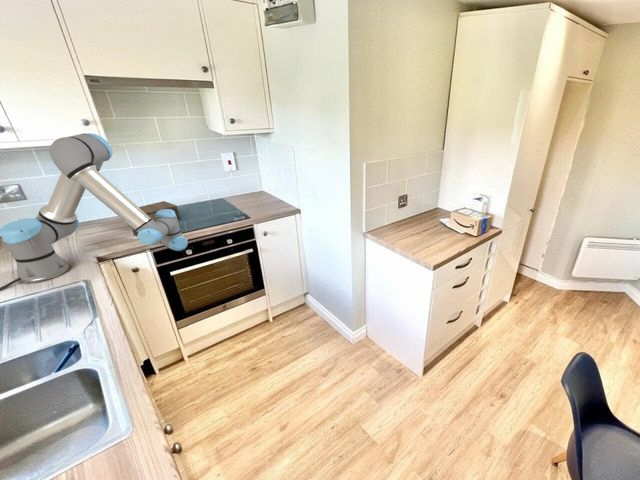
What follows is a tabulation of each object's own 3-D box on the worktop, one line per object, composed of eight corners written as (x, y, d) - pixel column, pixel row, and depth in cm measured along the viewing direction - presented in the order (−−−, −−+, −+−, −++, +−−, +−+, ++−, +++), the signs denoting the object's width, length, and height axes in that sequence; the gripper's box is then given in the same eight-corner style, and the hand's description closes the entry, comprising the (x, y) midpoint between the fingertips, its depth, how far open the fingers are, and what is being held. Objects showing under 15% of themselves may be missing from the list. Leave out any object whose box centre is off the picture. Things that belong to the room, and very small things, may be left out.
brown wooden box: (144, 229, 182) (139, 215, 178) (132, 224, 188) (126, 209, 184) (180, 219, 197) (176, 205, 193) (168, 214, 204) (164, 200, 199)
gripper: (145, 249, 153) (121, 237, 163) (183, 237, 167) (159, 226, 177) (140, 235, 150) (116, 224, 160) (179, 223, 163) (155, 214, 173)
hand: (139, 225), depth 168 cm, fingers closed on supplement box, 5 cm apart
